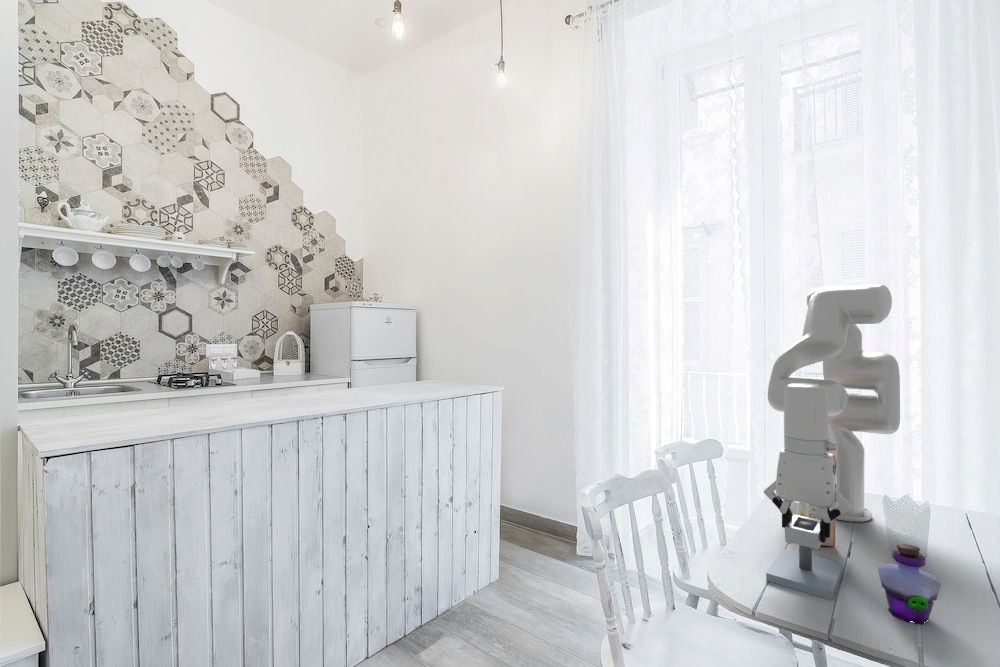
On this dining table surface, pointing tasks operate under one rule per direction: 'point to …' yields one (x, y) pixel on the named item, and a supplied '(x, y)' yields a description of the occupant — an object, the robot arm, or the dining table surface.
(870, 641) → the dining table surface
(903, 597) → the potion bottle
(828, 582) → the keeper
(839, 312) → the robot arm
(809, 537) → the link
